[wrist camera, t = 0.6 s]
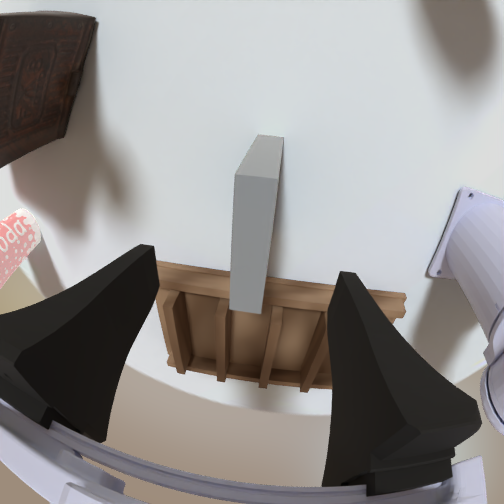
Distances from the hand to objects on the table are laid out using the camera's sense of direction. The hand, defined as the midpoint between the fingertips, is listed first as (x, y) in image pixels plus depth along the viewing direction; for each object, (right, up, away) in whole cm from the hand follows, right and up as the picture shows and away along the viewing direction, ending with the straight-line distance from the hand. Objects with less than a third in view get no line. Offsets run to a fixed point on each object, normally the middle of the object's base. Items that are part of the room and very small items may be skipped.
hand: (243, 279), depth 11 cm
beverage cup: (-24, +4, +13) cm, 28 cm away
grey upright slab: (+1, +5, +8) cm, 10 cm away
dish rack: (+2, -6, +16) cm, 17 cm away
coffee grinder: (-16, +18, +2) cm, 24 cm away
